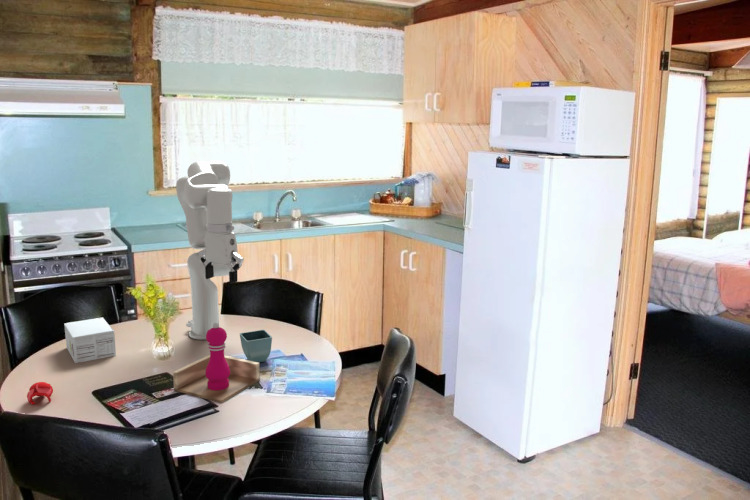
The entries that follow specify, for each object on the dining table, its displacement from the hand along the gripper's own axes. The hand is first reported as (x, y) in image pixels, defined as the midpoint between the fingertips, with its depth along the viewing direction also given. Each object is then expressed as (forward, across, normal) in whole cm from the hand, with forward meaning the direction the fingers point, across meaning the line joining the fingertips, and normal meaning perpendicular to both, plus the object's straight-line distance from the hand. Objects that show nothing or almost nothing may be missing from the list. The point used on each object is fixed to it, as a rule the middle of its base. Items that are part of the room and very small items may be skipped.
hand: (221, 280), depth 200 cm
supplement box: (+31, +48, +13) cm, 58 cm away
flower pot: (+29, -7, -8) cm, 31 cm away
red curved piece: (+29, +27, +46) cm, 61 cm away
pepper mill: (+28, -11, +16) cm, 34 cm away
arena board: (+28, -9, +14) cm, 33 cm away
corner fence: (+28, -9, +14) cm, 33 cm away
